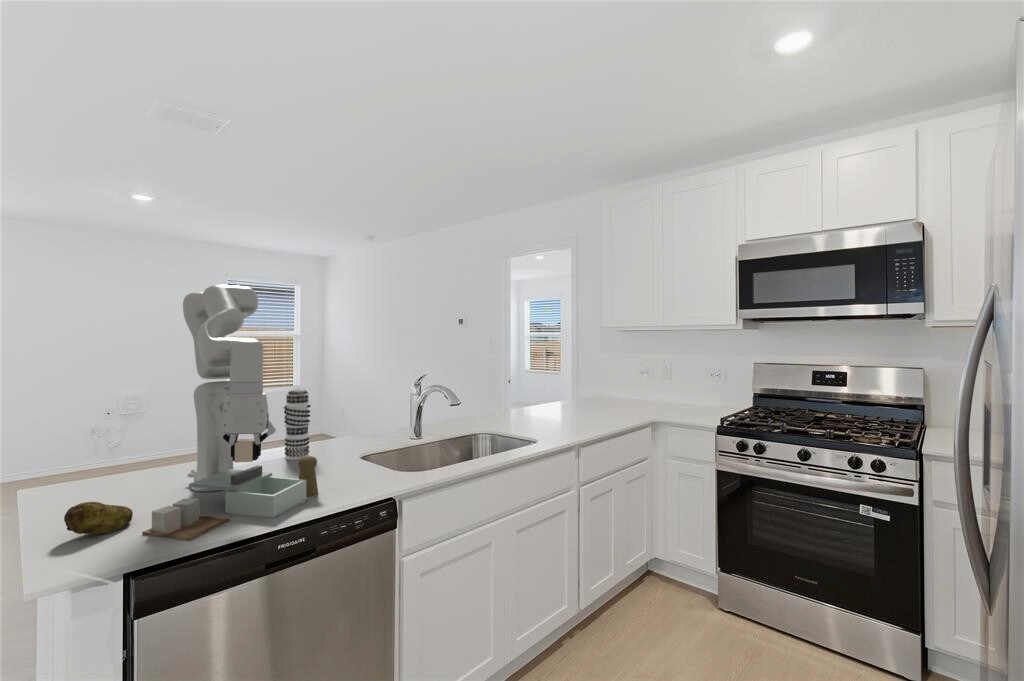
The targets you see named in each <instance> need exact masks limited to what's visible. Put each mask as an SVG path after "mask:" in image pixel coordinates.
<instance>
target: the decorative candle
mask: <svg viewBox="0 0 1024 681" xmlns="http://www.w3.org/2000/svg"><path fill="white" fill-rule="evenodd" d="M285 395H286V398H285V399H286V402H285V405H284V407H283V409H284V410H283V413H284V414H285V415H284V421H283V422H284V424H285V425H284V427H285V432H286V433H285V438H284V441H285V442H284V446H285V447H284V451H285V452H284V455H285V456H284V459H286V460H299V459H300V458H302V457H305V456H310V446H309V444H310V441H309V440H310V435H309V434H310V433H309V426H310V421H311V420H310V419H309V417H311V414H309V413H311V410H310V408H311V406H312V405H311V404H310V401H309V395H310V393H309V392H308V391H307V390H306V389H303V388H299V389H298V388H296V389H290V390H288V392H287V393H286V394H285Z"/></svg>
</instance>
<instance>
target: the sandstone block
mask: <svg viewBox="0 0 1024 681" xmlns="http://www.w3.org/2000/svg"><path fill="white" fill-rule="evenodd" d="M254 442H255V440H254V438H238V440H237V441H236V442H235V461H234V463H252V462H253V461H254V460H253V445H254Z"/></svg>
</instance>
